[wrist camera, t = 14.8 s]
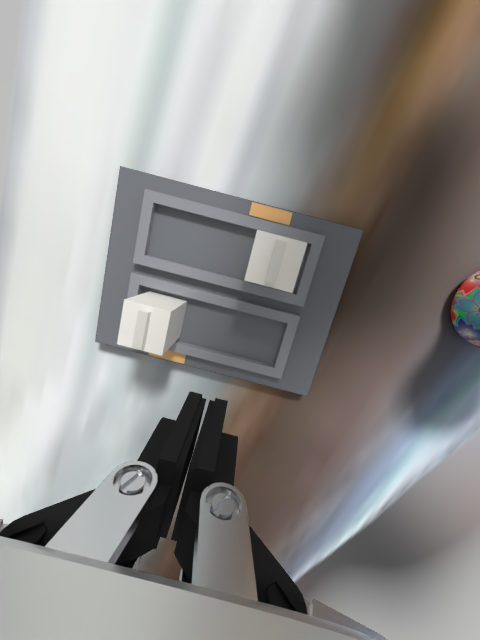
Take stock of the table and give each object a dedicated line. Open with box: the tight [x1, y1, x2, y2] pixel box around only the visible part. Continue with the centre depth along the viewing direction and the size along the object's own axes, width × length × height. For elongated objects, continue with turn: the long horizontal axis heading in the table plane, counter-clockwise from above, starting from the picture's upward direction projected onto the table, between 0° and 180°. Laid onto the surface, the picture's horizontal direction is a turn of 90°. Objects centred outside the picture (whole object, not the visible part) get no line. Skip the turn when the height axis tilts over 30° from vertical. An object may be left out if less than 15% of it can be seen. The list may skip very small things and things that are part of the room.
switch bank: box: [95, 166, 363, 396], centre depth 29 cm, size 18×24×2 cm
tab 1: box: [117, 291, 188, 356], centre depth 26 cm, size 4×4×7 cm
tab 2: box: [244, 230, 307, 293], centre depth 24 cm, size 4×4×7 cm
